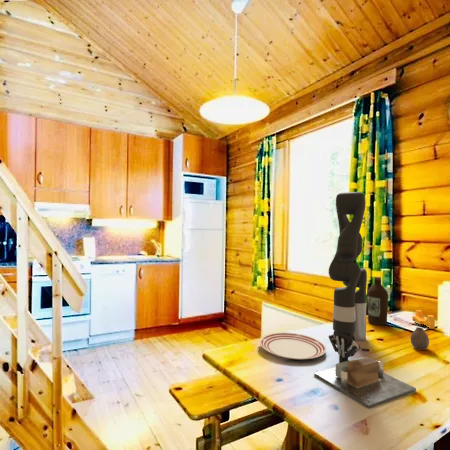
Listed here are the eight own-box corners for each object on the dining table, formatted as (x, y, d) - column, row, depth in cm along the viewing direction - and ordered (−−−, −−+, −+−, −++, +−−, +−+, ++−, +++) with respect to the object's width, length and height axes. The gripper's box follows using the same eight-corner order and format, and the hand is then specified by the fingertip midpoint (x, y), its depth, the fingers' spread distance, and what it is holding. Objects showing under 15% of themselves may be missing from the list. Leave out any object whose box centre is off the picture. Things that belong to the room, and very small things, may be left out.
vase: (406, 345, 138) (406, 325, 138) (421, 345, 139) (421, 325, 139) (417, 351, 131) (417, 330, 131) (433, 351, 132) (433, 330, 132)
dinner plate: (337, 350, 132) (337, 343, 132) (305, 372, 112) (305, 363, 112) (282, 335, 151) (282, 328, 151) (246, 351, 131) (246, 343, 131)
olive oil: (373, 318, 179) (373, 275, 179) (391, 323, 170) (392, 277, 170) (363, 321, 173) (363, 276, 173) (381, 326, 164) (382, 279, 164)
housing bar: (335, 375, 105) (335, 363, 105) (362, 368, 111) (362, 357, 111) (342, 379, 103) (342, 367, 103) (369, 371, 108) (369, 360, 108)
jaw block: (346, 380, 103) (347, 362, 103) (368, 374, 107) (368, 356, 107) (356, 385, 99) (356, 367, 99) (378, 379, 104) (378, 361, 104)
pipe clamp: (412, 321, 174) (412, 310, 174) (420, 321, 174) (420, 310, 174) (426, 328, 162) (426, 316, 162) (434, 328, 162) (434, 316, 162)
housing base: (314, 377, 108) (314, 359, 108) (358, 364, 118) (358, 349, 118) (368, 410, 88) (368, 389, 88) (416, 392, 98) (416, 373, 98)
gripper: (322, 314, 114) (322, 361, 114) (351, 324, 103) (351, 376, 103) (337, 311, 118) (337, 357, 118) (367, 321, 106) (366, 372, 106)
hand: (343, 366), depth 110 cm, fingers closed
